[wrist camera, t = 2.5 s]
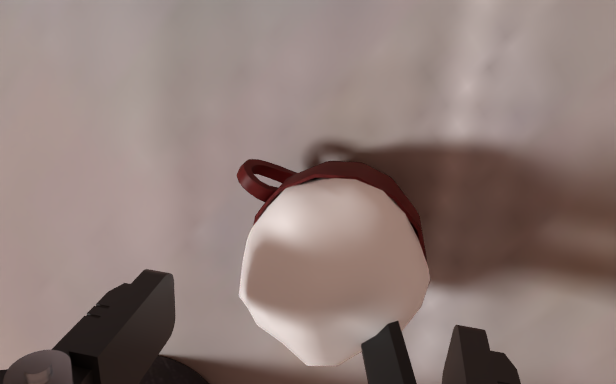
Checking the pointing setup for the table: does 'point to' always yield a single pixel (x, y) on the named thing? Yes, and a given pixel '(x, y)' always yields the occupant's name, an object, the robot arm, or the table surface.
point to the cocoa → (335, 265)
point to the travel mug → (170, 373)
